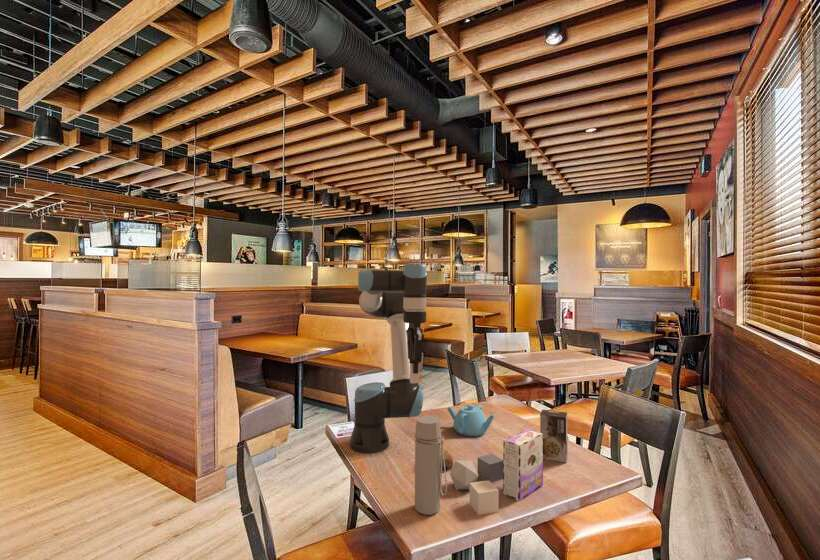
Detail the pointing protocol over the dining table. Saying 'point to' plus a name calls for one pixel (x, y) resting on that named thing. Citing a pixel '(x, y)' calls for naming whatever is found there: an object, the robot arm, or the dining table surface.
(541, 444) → the candy box
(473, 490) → the cream block
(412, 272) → the robot arm
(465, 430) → the teapot
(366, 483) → the dining table surface
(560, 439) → the coffee box
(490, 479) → the charcoal block
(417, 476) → the water bottle
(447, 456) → the bread roll
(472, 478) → the die
